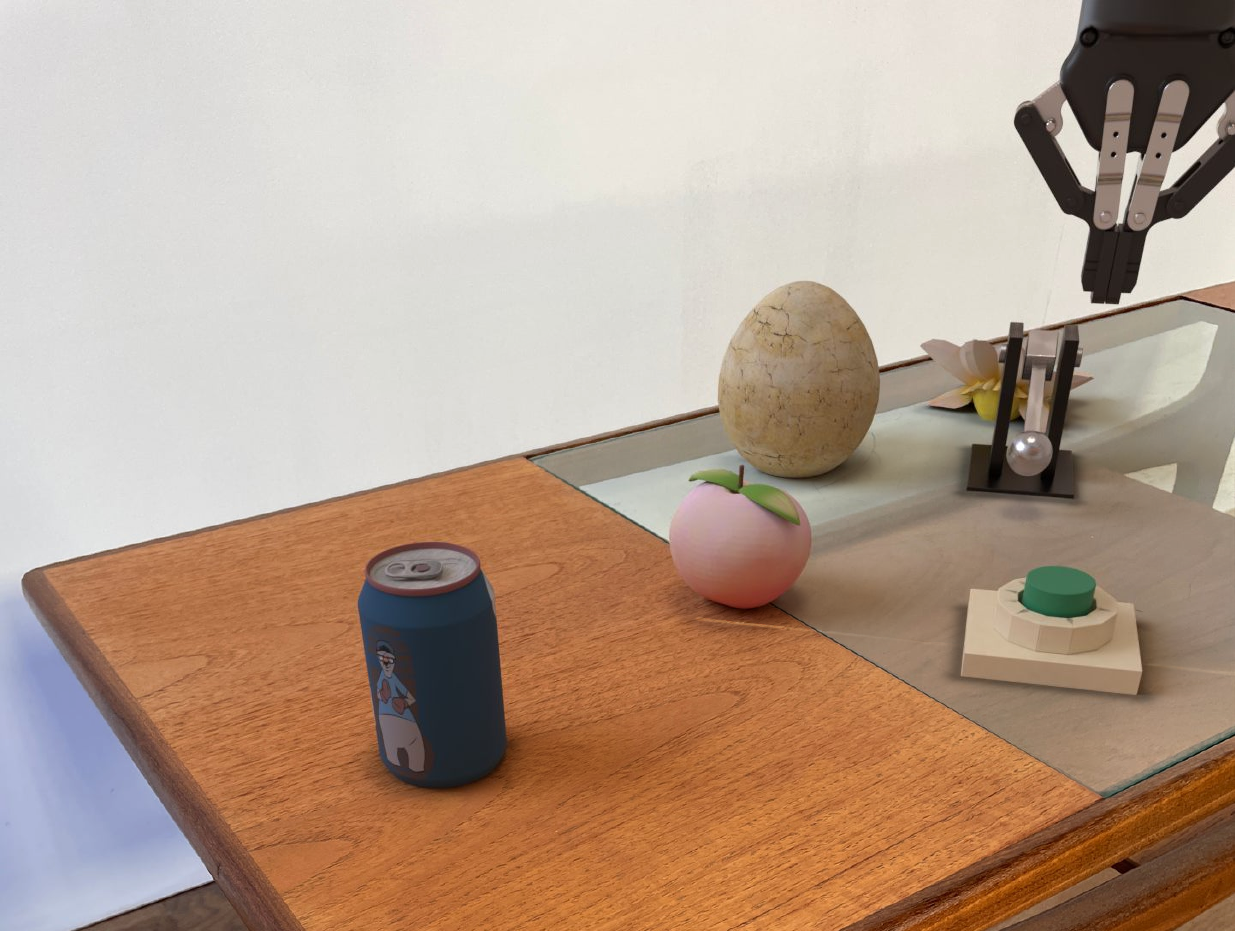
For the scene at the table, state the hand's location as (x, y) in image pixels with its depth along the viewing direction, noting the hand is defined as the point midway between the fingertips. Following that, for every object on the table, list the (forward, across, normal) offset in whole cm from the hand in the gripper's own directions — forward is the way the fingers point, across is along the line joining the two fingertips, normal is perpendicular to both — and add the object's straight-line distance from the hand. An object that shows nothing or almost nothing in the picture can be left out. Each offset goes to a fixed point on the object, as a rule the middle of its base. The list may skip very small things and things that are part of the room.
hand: (1104, 300), depth 70 cm
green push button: (+17, 0, -3) cm, 17 cm away
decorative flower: (+21, -3, +42) cm, 47 cm away
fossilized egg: (+21, -20, +25) cm, 38 cm away
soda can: (+21, -31, -23) cm, 44 cm away
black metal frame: (+20, -2, +27) cm, 34 cm away
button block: (+20, 0, -3) cm, 21 cm away
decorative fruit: (+21, -20, -1) cm, 29 cm away
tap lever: (+14, -2, +23) cm, 27 cm away
